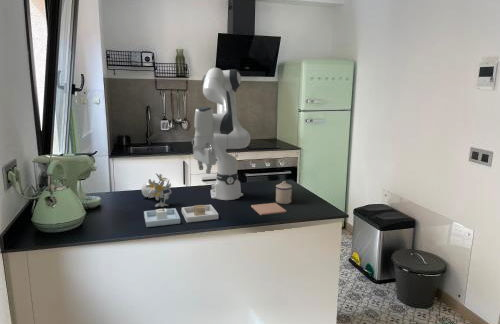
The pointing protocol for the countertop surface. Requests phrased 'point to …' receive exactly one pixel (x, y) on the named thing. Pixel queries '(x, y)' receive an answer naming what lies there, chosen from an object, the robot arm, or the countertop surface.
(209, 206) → the grey tray
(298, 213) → the countertop surface
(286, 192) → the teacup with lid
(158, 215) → the letter cube
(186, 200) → the countertop surface
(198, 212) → the plain oak block
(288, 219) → the countertop surface
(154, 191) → the flower vase
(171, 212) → the blue grey tray
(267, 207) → the terracotta tile
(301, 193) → the countertop surface
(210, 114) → the robot arm
